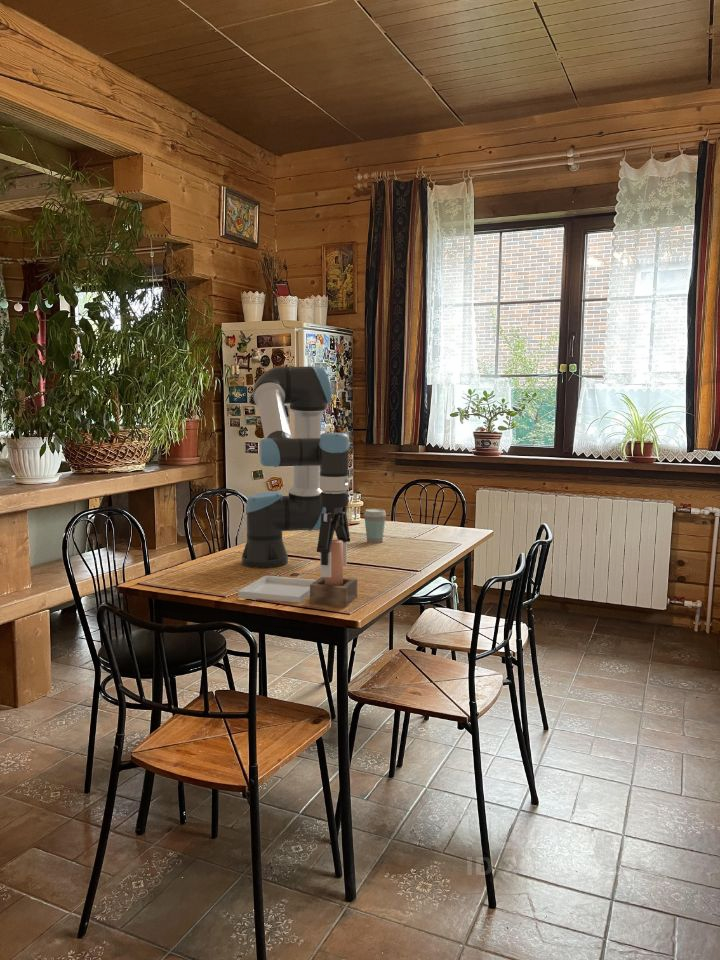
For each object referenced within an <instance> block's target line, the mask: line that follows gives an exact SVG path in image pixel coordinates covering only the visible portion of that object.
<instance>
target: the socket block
mask: <svg viewBox="0 0 720 960" xmlns="http://www.w3.org/2000/svg"><path fill="white" fill-rule="evenodd" d="M315 580H316V581H315V582H314V583H312V584H311V585H310V595H309V604H310V605H319V606H320V605H321V606H331V607H341V608H347V607H348V606H349V605H350V604H351V603H352V602H353V601H354V600H356V599H357V598H358V578H350V577H343V586H333V585H325V580H324V577H319V578H318V579H315Z"/></svg>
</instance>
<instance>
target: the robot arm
mask: <svg viewBox="0 0 720 960" xmlns="http://www.w3.org/2000/svg"><path fill="white" fill-rule="evenodd" d="M331 385H332V384H331V378H330V375H329V372H328V371H327V369H326V368H325V367H322V366H321V367H319V366H313V365H312V366H275V367H272V368H269V369H267V370H266V371H265V372H264V373H262V374H261V375H260V376H259V377H258V379H257V380H256V382H255V384H254V386H253V390H252V393H253V394H252V395H253V396H252V397H253V401H254V404H255V405H256V406H257V407H258V410H259V415H260V420H261V421H260V422H261V426H262V432H263V437H264V438H263V439H260V442H259V462H260V464H261V466H263V467H274V468H278V467H293V485H292V487H290V488H289V490H288V495H283V493H282V492H281V491H278V490H276V491H266V492H260V493H255V494H252V495H250V496H249V497H247V499H246V509H245V512H246V543H245V545H244V549H243V553H242V555H241V564H242V566H245V567H249V568H257V569H269V568H277V567H283V566H285V565H287V564H288V561H289V560H288V558H289V556H288V552H287V549H286V547H285V544H284V541H283V540H284V539H283V532H293V531H295V532H296V531H315V530H316V531H317V530H319V534H318V541H317V548H316V553H320V554H319V555H320V557H319V559H320V560H319V561H320V565H319V566H320V571H319V572H320V574H319V575H320V577H319V578H321V577H331V552H330V548H331V543H332V540H334V533H335V534H336V538H337V539H336V540H341V541H343V567H346V566H347V563H348V560H347V559H348V552H347V551H348V550H347V549H348V544H347V543H349V542H350V541H351V537H350V536H351V535H350V530H349V522H348V516H347V507H348V506H349V493H348V492H347V491H348V490H349V484H350V483H351V480H350V479H349V448H350V445H349V435H348V434H346V433H343V432H323V433H322V431H321V429H322V414H324V413H325V411H326V410H327V405H329V404H331V402H332V398H333V397H332V396H333V394H332V386H331ZM285 405H289V409H290V411H291V412H292V413H293V414H294V417H293V418H294V419H293V421H294V425H293V426H294V428H293V431H294V432H293V436H294V438H293V437H292V432H291V428H290V425H289V419H288V415H287V410H286V406H285Z"/></svg>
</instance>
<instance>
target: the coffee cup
mask: <svg viewBox="0 0 720 960" xmlns="http://www.w3.org/2000/svg"><path fill="white" fill-rule="evenodd" d="M386 516H387V513H386V510H385V509H382V508H368V509H367V508H366V509H365V510H364V513H363V517H364V524H365V532H366V533H365V535H366V542H367V543H369V544H370V543H371V544H379V543H380V544H382V543H383V540H384V539H383V538H384V530H385V522H386Z"/></svg>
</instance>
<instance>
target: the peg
mask: <svg viewBox="0 0 720 960" xmlns="http://www.w3.org/2000/svg"><path fill="white" fill-rule="evenodd" d="M330 552H331V577H324V580H325V585H333V586H343V578H344V566H343V541H341V540H338V539H332V543H331V548H330Z"/></svg>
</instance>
